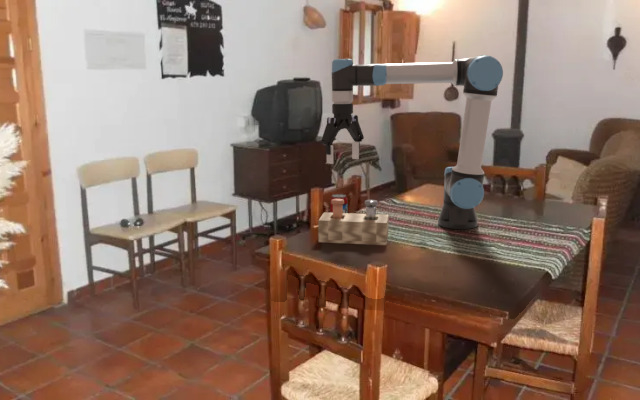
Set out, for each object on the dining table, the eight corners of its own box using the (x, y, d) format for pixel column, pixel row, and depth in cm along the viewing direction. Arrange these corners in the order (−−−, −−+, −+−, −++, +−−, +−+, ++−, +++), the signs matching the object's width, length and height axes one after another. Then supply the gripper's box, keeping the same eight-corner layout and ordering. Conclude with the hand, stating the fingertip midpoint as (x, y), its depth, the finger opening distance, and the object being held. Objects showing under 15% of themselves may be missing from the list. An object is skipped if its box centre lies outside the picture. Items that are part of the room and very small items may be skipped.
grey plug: (377, 222, 219) (378, 200, 217) (376, 225, 214) (377, 202, 212) (364, 221, 219) (365, 199, 218) (363, 224, 215) (364, 202, 213)
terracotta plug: (344, 220, 221) (344, 198, 219) (343, 224, 216) (343, 201, 214) (332, 220, 221) (332, 198, 220) (330, 223, 217) (330, 201, 215)
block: (388, 235, 223) (388, 214, 221) (386, 245, 211) (386, 223, 210) (323, 233, 227) (323, 212, 225) (318, 242, 215) (318, 220, 214)
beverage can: (346, 227, 234) (346, 197, 231) (328, 227, 235) (328, 196, 232) (348, 223, 240) (348, 193, 238) (332, 222, 242) (332, 193, 239)
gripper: (358, 100, 229) (358, 156, 233) (310, 104, 212) (311, 164, 216) (373, 101, 223) (373, 158, 228) (325, 105, 206) (326, 166, 211)
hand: (343, 161), depth 222 cm, fingers open, 13 cm apart
